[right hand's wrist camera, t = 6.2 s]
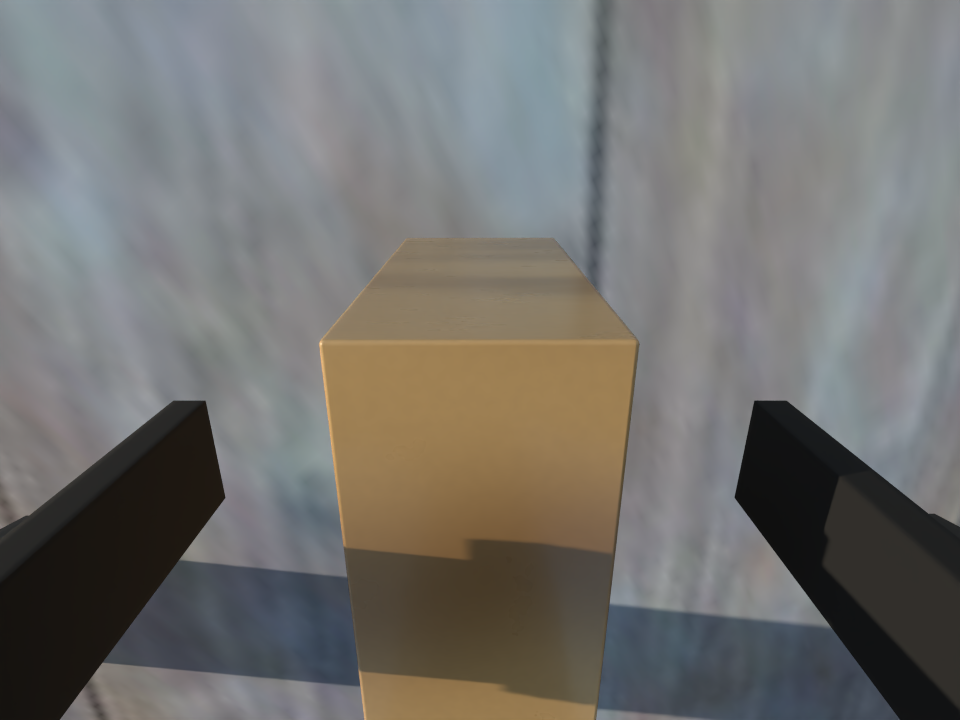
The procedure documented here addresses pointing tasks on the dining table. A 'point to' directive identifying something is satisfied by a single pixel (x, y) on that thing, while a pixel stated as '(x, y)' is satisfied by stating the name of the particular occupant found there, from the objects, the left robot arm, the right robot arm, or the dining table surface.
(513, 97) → the dining table surface
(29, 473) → the dining table surface
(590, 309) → the bar
